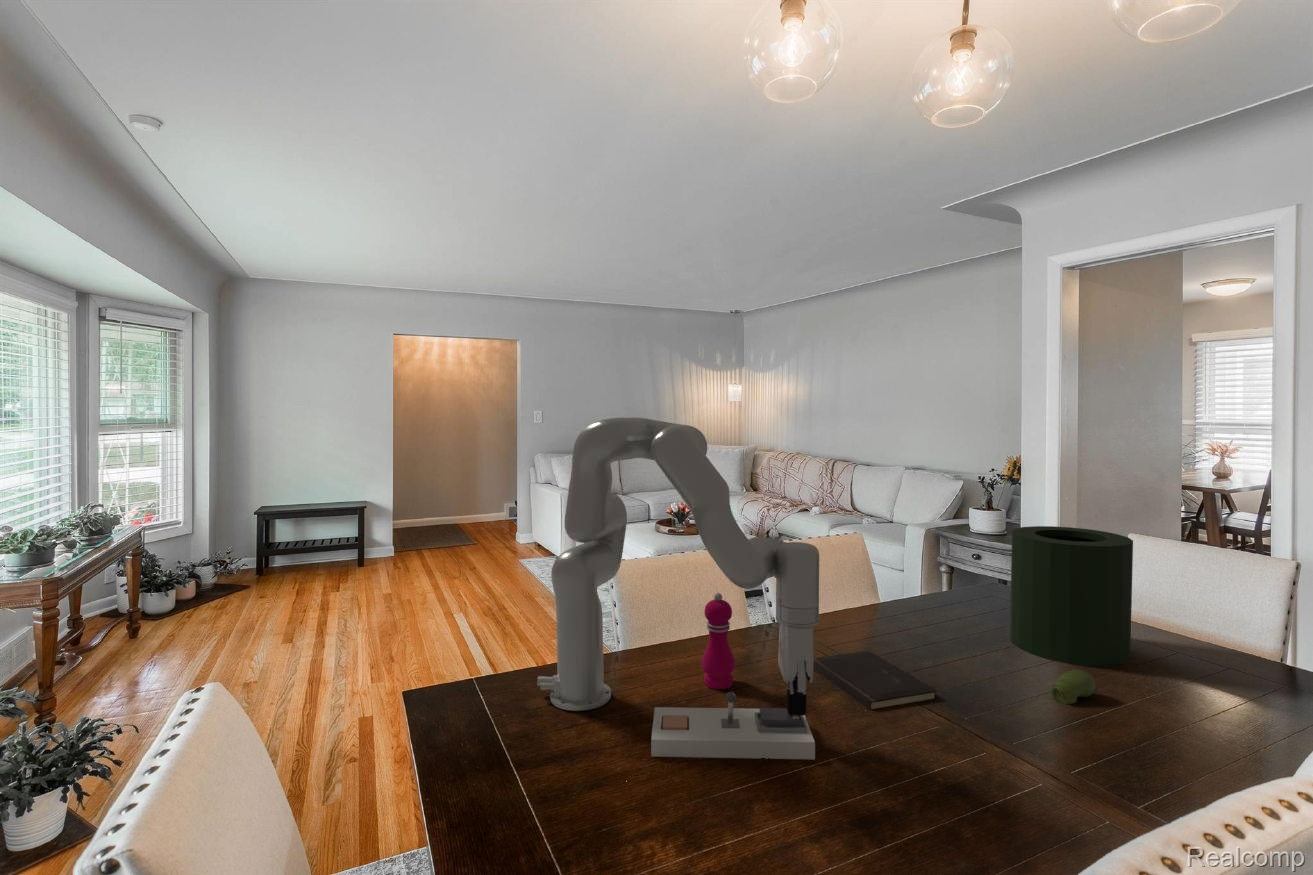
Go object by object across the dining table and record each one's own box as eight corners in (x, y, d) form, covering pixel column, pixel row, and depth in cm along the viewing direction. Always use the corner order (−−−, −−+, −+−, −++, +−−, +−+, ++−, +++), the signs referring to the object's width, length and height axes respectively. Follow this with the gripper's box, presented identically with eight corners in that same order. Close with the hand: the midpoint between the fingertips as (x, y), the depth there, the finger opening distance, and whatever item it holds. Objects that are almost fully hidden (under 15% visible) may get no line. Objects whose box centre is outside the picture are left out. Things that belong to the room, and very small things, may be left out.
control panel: (651, 756, 111) (651, 734, 110) (654, 722, 123) (654, 703, 122) (814, 759, 109) (814, 737, 109) (802, 724, 121) (802, 705, 121)
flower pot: (1125, 640, 163) (1128, 531, 162) (1135, 675, 142) (1138, 550, 141) (1013, 623, 177) (1014, 523, 176) (1006, 653, 156) (1008, 539, 154)
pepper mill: (733, 691, 136) (733, 598, 135) (699, 689, 137) (699, 596, 136) (736, 677, 143) (736, 589, 142) (704, 675, 144) (703, 587, 143)
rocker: (762, 724, 113) (762, 719, 113) (759, 713, 118) (759, 707, 118) (802, 726, 113) (802, 720, 113) (797, 714, 117) (797, 708, 117)
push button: (662, 742, 114) (662, 726, 114) (663, 729, 119) (663, 715, 118) (687, 742, 114) (687, 727, 114) (687, 730, 118) (687, 715, 118)
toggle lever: (725, 726, 115) (726, 697, 112) (725, 718, 117) (725, 689, 114) (735, 726, 115) (736, 697, 112) (734, 718, 116) (735, 689, 114)
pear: (1100, 671, 131) (1069, 689, 127) (1102, 696, 131) (1071, 714, 127) (1072, 662, 136) (1042, 678, 132) (1074, 685, 136) (1044, 702, 132)
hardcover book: (868, 659, 154) (868, 650, 153) (936, 701, 132) (937, 690, 132) (809, 668, 149) (809, 658, 149) (870, 712, 127) (870, 701, 127)
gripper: (770, 599, 122) (770, 694, 123) (782, 626, 107) (781, 733, 108) (810, 600, 122) (809, 694, 122) (827, 627, 107) (826, 734, 107)
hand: (796, 712), depth 115 cm, fingers closed
